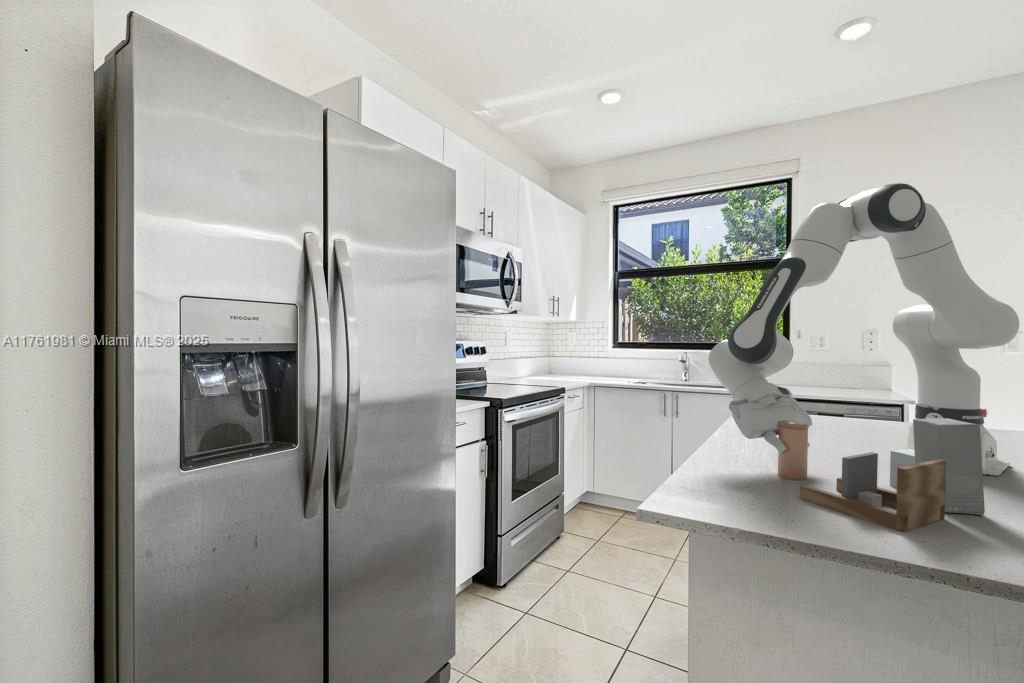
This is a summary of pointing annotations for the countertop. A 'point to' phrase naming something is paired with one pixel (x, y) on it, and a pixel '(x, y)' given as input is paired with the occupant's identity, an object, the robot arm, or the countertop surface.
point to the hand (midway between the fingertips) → (795, 449)
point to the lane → (895, 498)
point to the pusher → (861, 478)
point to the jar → (793, 450)
